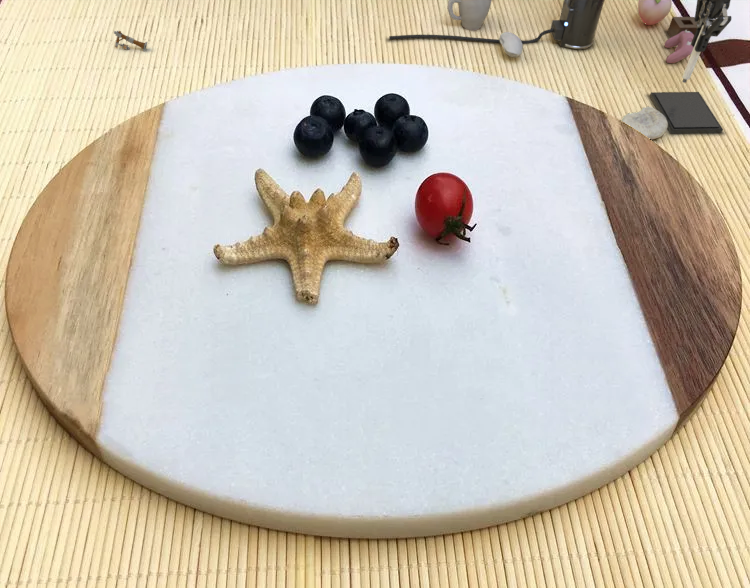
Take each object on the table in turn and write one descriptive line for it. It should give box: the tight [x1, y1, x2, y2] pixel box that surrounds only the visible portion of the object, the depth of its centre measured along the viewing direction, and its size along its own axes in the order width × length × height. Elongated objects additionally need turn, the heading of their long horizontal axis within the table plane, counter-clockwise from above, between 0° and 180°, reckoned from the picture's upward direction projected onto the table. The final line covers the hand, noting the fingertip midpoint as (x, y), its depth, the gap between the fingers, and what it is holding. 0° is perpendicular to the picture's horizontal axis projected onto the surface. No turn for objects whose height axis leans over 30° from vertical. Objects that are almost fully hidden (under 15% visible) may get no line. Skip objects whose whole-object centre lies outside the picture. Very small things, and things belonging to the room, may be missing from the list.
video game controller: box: [663, 30, 694, 64], centre depth 174 cm, size 10×5×7 cm, turn 168°
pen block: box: [666, 16, 697, 38], centre depth 181 cm, size 6×6×4 cm
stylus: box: [681, 25, 711, 83], centre depth 154 cm, size 2×2×13 cm
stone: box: [498, 31, 524, 58], centre depth 172 cm, size 10×5×5 cm, turn 15°
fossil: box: [620, 105, 668, 141], centre depth 154 cm, size 11×4×10 cm
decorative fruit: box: [637, 0, 673, 26], centre depth 182 cm, size 9×8×10 cm
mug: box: [446, 0, 492, 31], centre depth 180 cm, size 12×9×10 cm
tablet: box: [649, 91, 724, 135], centre depth 159 cm, size 12×16×1 cm
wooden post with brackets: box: [113, 30, 148, 52], centre depth 171 cm, size 2×8×4 cm, turn 88°
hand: (697, 48), depth 153 cm, fingers closed on stylus, 2 cm apart
